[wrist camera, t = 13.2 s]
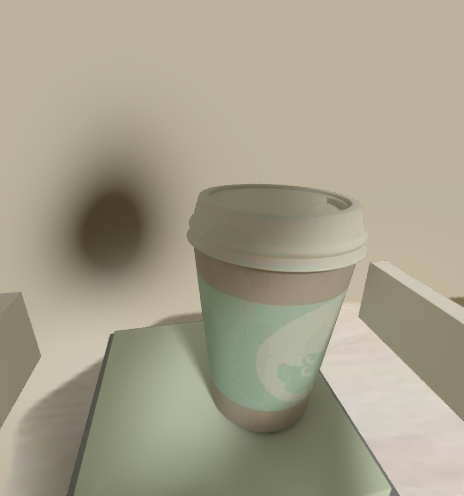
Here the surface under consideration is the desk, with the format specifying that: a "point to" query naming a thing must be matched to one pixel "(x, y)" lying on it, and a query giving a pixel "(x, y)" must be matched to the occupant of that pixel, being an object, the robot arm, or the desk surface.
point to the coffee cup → (271, 292)
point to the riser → (207, 432)
